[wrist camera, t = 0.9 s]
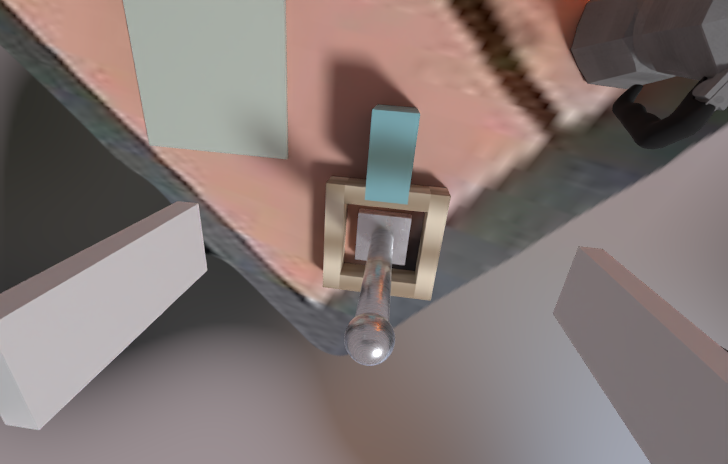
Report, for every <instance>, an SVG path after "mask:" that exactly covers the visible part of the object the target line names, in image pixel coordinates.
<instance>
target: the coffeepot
mask: <svg viewBox="0 0 728 464" xmlns="http://www.w3.org/2000/svg"><path fill="white" fill-rule="evenodd" d="M571 51H572V53H573V55H574V58H575V60H576V63H577V66H578V68H579V69H580V71H581V72H582V74H583V75H584V77H585V79H586V81H587V83H588V84H595V85H601V86H609V87H616V88H623V89H628V88H629V89H628V90H627V91H626V92H624V93H623V94H622V95H621V96H620V97H619V98H618V99H617V100H616V102H615V103H614V104H613V109H612V111H613V113H614V114H615V115H616V117H617V118H618V119H619V120H620V121H621V123H622V124H623V126H624V127H625V128H626V130H627V131H628V132H629V133H630V135H631V136H632V138H633V139H634V141H635V142H636V143H637V144H638V145H639V146H641V147H642V148H646V149H658V148H663V147H665V146H667V145H670V144H672V143H675V142H677V141H679V140H682V139H684V138H686V137H689V136H691V135H694V134H695V133H696V132H697V131H699V130H700V129H701V128H702V127H703V126H704V125H705V123H706V122H707V121H708V120H709V118H710V117H711V116H712V114H713V113H714V112H715V111H716V110H725V109H726V108H727V107H728V0H590V1H589V2H588V3H587V4H586V7H585V9H584V12H583V15H582V17H581V20H580V22H579V24H578V27H577V30H576V34H575V38H574V42H573V45H572V48H571ZM675 76H680V77H685V78H690V79H695V80H700V81H699V82H698V83H697V84H696V86H695V87H694V88H693V89H692V90H691V91H690V92H689V93H688V95H687V96H686V97H685V98H684V100H683V101H682V102H681V104H680V105H679V106H678V107H677V109H676V110H675V111H674V112H673V113H672V114H671V115H670V116H668V117H666V118H664V119H662V120H661V119H660V118H658V117H657V116H655V115H653V114H651V113H647V111H646V109H645V107H644V106H643V105H641V104H639V103H633V102H634V100H635V98H636V97H637V95H638V94H639V92H640V91H641V90H642V87H643V86H642V85H644V84H648V83H652V82H656V81H660V80H664V79H668V78H671V77H675Z"/></svg>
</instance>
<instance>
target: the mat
mask: <svg viewBox="0 0 728 464" xmlns="http://www.w3.org/2000/svg"><path fill="white" fill-rule="evenodd" d="M123 4H124V9H125V15H126V20H127V26H128V31H129V36H130V42H131V47H132V53H133V58H134V63H135V69H136V74H137V80H138V85H139V91H140V96H141V101H142V107H143V112H144V118H145V123H146V128H147V134H148V139H149V145H152V146H161V147H171V148H181V149H191V150H200V151H210V152H220V153H230V154H240V155H249V156H259V157H269V158H279V159H288V115H287V52H286V0H123Z"/></svg>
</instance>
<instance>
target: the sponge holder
mask: <svg viewBox="0 0 728 464" xmlns="http://www.w3.org/2000/svg"><path fill="white" fill-rule="evenodd" d="M419 119H420V112H419V111H418V109H417V108H412V107H401V106H390V105H379V104H378V105H376V106H375V107H374V108H373V109H372V118H371V130H370V142H369V154H368V166H367V178H366V180H365V179H355V178H346V177H336V176H331V177H330V179H329V180H328V181H327V183H326V202H325V233H324V265H323V287H327V288H335V289H343V290H351V291H359V292H360V291H361V286H362V281H363V276H364V271H365V266H366V265H360V264H352V263H344V252H345V236H346V219H347V204H355V205H365V206H374V207H383V208H392V209H401V210H410V211H419V212H425V214H424V220H423V226H422V232H421V238H420V244H419V250H418V256H417V263H416V269H415V271H410V270H402V269H393V268H392V275H391V293H390V296H398V297H406V298H414V299H422V300H431V295H432V290H433V285H434V280H435V275H436V270H437V264H438V259H439V254H440V249H441V244H442V239H443V234H444V228H445V223H446V218H447V213H448V208H449V203H450V198H451V196H450V194H449V191H448V189H447V188H441V187H432V186H422V185H413V184H410V183H411V176H412V169H413V162H414V154H415V147H416V140H417V133H418V126H419Z"/></svg>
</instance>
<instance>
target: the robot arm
mask: <svg viewBox="0 0 728 464" xmlns="http://www.w3.org/2000/svg"><path fill="white" fill-rule="evenodd" d="M206 271H207V265H206V258H205V250H204V242H203V235H202V227H201V220H200V213H199V205H198V203H189V202H180V201H177V202H175V203H173V204H172V205H170V206H168V207H166V208H164V209H162V210H160V211H158V212H156V213H154V214H152V215H151V216H149V217H147V218H145V219H143V220H141V221H139V222H137V223H135V224H133V225H131V226H129V227H127V228H125V229H124V230H122V231H120V232H118V233H116V234H114V235H112V236H110V237H108V238H106V239H104V240H102V241H100V242H99V243H97V244H95V245H93V246H91V247H89V248H87V249H85V250H83V251H81V252H80V253H77V254H76V255H74V256H72V257H70V258H68V259H66V260H64V261H62V262H60V263H58V264H56V265H55V266H53V267H51V268H49V269H46V270H44V271H42V272H40V273H38V274H36V275H34V276H32V277H30V278H28V279H26V280H25V281H24V282H22V283H19V284H17V285H15V286H13V287H11V288H9V289H7V290H6V291H4V292H3V293H2V292H1V293H0V415H1V417H2V419H3V421H4V423H5V424H6V425H11V426H17V427H23V428H29V429H35V430H40V429H41V428H42V427H43V426H44V425H45V424H46V423H47V422H48V421H49V420H50V419H51V418H52V417H53V416H54V415H55V414H57V412H59V411H60V410H61V409H62V408H63V407H64V406H65V405H66V404H67V403H68V402H69V401H70V400H71V399H72V398H73V397H74V396H75V395H76V394H78V393H79V392H80V391H81V390H82V389H83V388H84V387H85V386H86V385H87V384H88V383H89V382H90V381H91V380H92V379H93V378H94V377H95V376H97V375H98V373H100V372H101V371H102V370H103V369H104V368H105V367H106V366H107V365H108V364H109V363H110V362H111V361H112V360H113V359H114V358H115V357H116V356H117V355H119V354H120V353H121V352H122V351H123V350H124V349H125V348H126V347H127V346H128V345H129V344H130V343H131V342H132V341H133V340H134V339H135V338H136V337H138V336H139V335H140V334H141V333H142V332H143V331H144V330H145V329H146V328H147V327H148V326H149V325H150V324H151V323H152V322H153V321H154V320H155V319H156V318H158V316H160V315H161V314H162V313H163V312H164V311H165V310H166V309H167V308H168V307H169V306H170V305H171V304H172V303H173V302H174V301H175V300H176V299H177V298H179V297H180V296H181V295H182V293H184V292H185V291H186V290H187V289H188V288H189V287H190V286H191V285H192V284H193V283H194V282H195V281H196V280H197V279H199V278H200V276H202V275H203V274H204V273H205V272H206ZM553 314H554V316H555V318H556V319H557V321H558V322H559V324H560V325H561V327H562V328H563V330H564V331H565V333H566V335H567V336H568V338H569V339H570V340H571V342H572V344H573V345H574V347H575V348H576V350H577V351H578V353H579V354H580V356H581V357H582V359H583V360H584V362H585V364H586V365H587V366H588V368H589V369H590V371H591V373H592V374H593V376H594V377H595V379H596V380H597V382H598V383H599V385H600V386H601V388H602V390H603V391H604V393H605V394H606V396H607V397H608V399H609V400H610V402H611V403H612V405H613V406H614V408H615V409H616V411H617V413H618V414H619V416H620V417H621V419H622V420H623V422H624V423H625V425H626V426H627V428H628V429H629V431H630V432H631V434H632V435H633V437H634V438H635V440H636V442H637V443H638V445H639V446H640V448H641V449H642V451H643V452H644V454H645V455H646V457H647V458H648V460H649V461H650V463H651V464H728V350H726V349H724V348H723V347H721V346H719V345H718V344H717V343H716V342H714V341H713V340H712V339H711V338H710V337H708V336H707V335H706V334H705V333H704V332H702V331H701V330H700V329H699V328H698V327H696V326H695V325H694V324H693V323H692V322H690V321H689V320H688V319H687V318H686V317H684V316H683V315H682V314H680V313H679V312H678V311H677V310H676V309H675V308H673V307H672V306H671V305H670V304H668V303H667V302H666V301H665V300H664V299H662V298H661V297H660V296H659V295H658V294H656V293H655V292H654V291H653V290H652V289H650V288H649V287H648V286H647V285H646V284H644V283H643V282H642V281H641V280H639V279H638V278H637V277H636V276H635V275H633V274H632V273H631V272H630V271H629V270H627V269H626V268H625V267H624V266H622V265H621V264H620V263H619V262H618V261H616V260H615V259H614V258H613V257H612V256H610V255H609V254H608V253H607V252H605V251H604V250H603V249H598V248H588V247H580V246H579V247H578V250H577V252H576V255H575V258H574V260H573V262H572V265H571V268H570V270H569V273H568V275H567V278H566V281H565V284H564V286H563V289H562V291H561V294H560V296H559V299H558V302H557V304H556V307H555V309H554V312H553Z"/></svg>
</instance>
